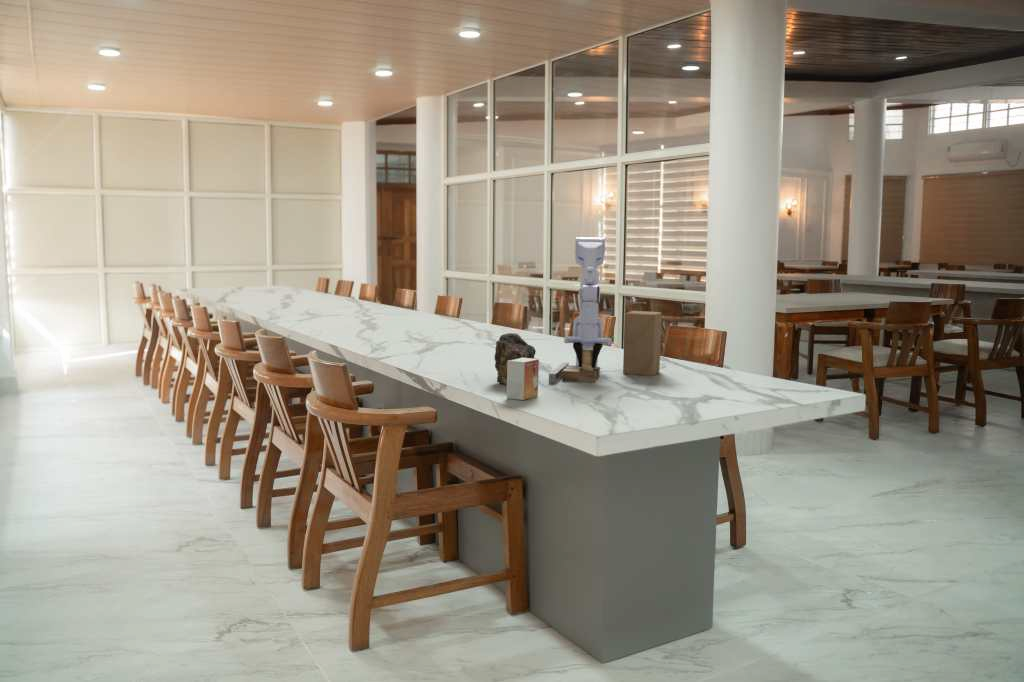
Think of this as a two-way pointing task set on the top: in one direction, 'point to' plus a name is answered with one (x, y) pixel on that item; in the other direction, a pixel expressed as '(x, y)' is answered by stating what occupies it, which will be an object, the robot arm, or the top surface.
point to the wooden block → (642, 343)
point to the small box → (522, 378)
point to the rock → (510, 353)
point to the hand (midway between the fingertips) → (587, 367)
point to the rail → (557, 373)
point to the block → (580, 374)
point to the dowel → (587, 359)
